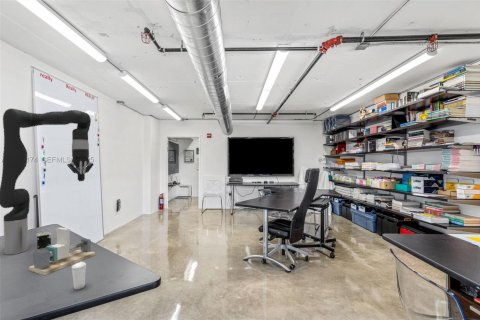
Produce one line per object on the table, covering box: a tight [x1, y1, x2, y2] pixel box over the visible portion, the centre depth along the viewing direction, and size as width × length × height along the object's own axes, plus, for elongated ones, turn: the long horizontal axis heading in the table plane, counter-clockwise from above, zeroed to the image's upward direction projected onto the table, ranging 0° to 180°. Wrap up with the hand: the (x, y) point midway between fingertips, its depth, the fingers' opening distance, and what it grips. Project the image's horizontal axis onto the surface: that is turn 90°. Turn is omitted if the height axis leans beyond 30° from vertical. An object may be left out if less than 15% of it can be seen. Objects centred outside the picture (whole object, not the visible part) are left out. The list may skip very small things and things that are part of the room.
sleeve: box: [51, 227, 71, 260], centre depth 109 cm, size 5×7×13 cm
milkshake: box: [70, 261, 87, 290], centre depth 88 cm, size 4×5×10 cm
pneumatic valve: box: [35, 230, 52, 250], centre depth 121 cm, size 6×12×12 cm, turn 42°
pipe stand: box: [28, 238, 96, 276], centre depth 111 cm, size 22×12×8 cm, turn 157°
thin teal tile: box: [46, 245, 58, 262], centre depth 106 cm, size 1×6×6 cm, turn 67°
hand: (81, 181), depth 126 cm, fingers closed
